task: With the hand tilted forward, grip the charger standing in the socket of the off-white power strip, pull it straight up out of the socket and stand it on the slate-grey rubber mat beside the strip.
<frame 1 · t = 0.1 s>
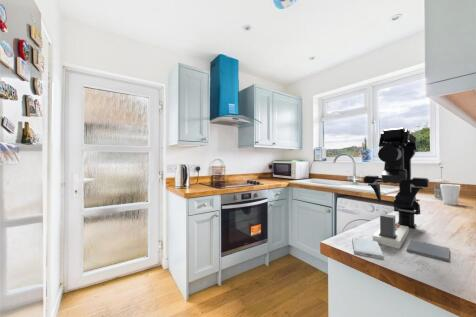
hand: (394, 203, 75), 15 cm above the worktop, tool pointing down, fingers open, 9 cm apart
hard drive: (366, 250, 71), on the worktop
charger: (387, 242, 76), resting in power strip
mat: (428, 250, 69), on the worktop
power strip: (392, 236, 82), on the worktop
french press: (440, 199, 154), on the worktop
foam cup: (450, 204, 138), on the worktop
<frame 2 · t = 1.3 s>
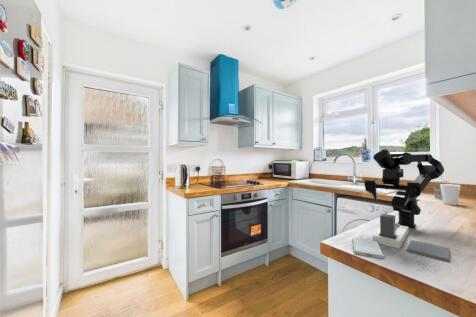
hand: (389, 203, 82), 13 cm above the worktop, tool tilted 45°, fingers open, 9 cm apart
nothing on the worktop moved.
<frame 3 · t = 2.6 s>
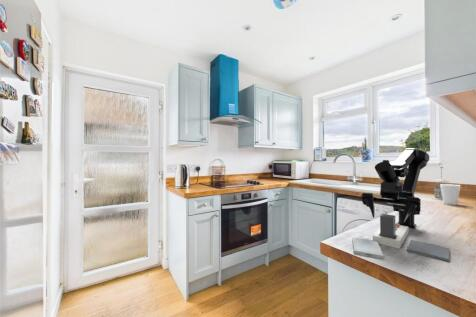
hand: (387, 219, 77), 8 cm above the worktop, tool tilted 45°, fingers open, 9 cm apart
nothing on the worktop moved.
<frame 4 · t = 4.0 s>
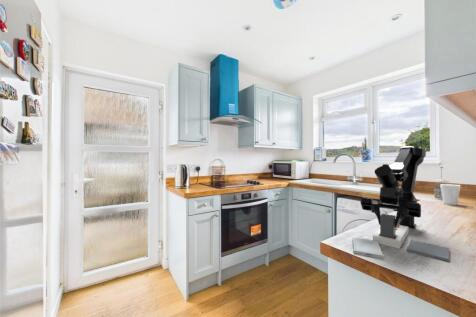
hand: (387, 225, 75), 7 cm above the worktop, tool tilted 45°, fingers closed on charger, 4 cm apart
charger: (387, 242, 76), resting in power strip, touching gripper
everything else where it was.
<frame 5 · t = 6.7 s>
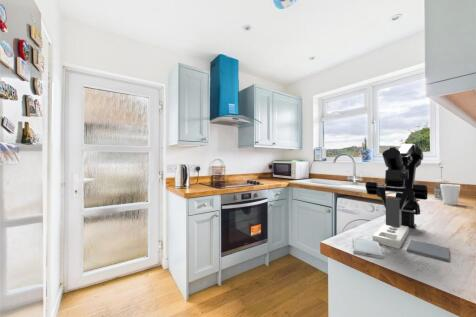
hand: (393, 208, 74), 13 cm above the worktop, tool tilted 45°, fingers closed on charger, 4 cm apart
charger: (393, 225, 75), point 7 cm above the worktop, touching gripper
everything else where it was.
when the fingers open (8 cm above the worktop, at t = 9.3 s): charger stays where it is, resting on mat.
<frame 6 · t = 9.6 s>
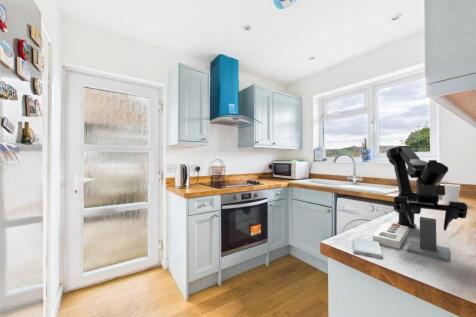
hand: (428, 227, 68), 8 cm above the worktop, tool tilted 45°, fingers open, 8 cm apart
charger: (428, 248, 69), point 1 cm above the worktop, touching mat
everything else where it was.
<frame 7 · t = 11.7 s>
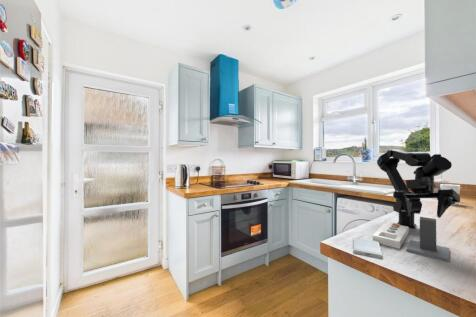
hand: (422, 216, 76), 10 cm above the worktop, tool tilted 35°, fingers open, 9 cm apart
nothing on the worktop moved.
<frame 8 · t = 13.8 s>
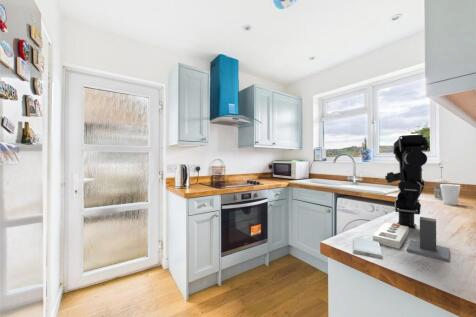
hand: (412, 205, 79), 13 cm above the worktop, tool pointing down, fingers open, 9 cm apart
nothing on the worktop moved.
at the end: charger inside the target area on the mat (0.0 cm from its centre), point 0.8 cm above the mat's base; charger tilted 0°; the gripper is holding nothing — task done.
